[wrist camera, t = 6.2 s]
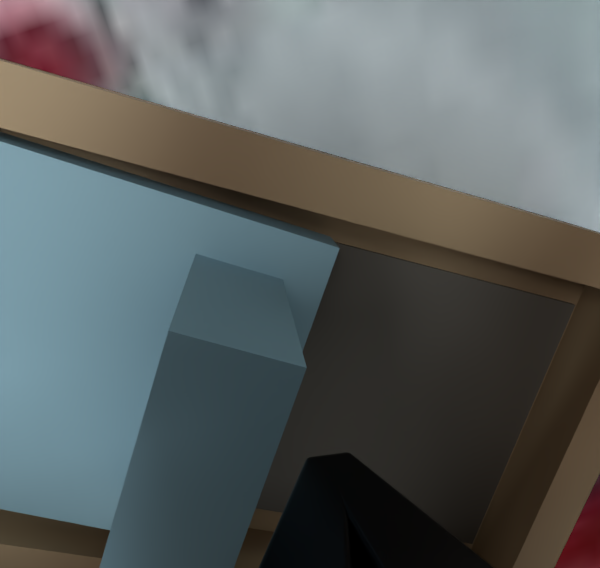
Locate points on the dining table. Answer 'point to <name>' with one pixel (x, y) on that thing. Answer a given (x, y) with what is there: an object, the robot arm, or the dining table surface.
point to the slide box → (378, 328)
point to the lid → (145, 354)
